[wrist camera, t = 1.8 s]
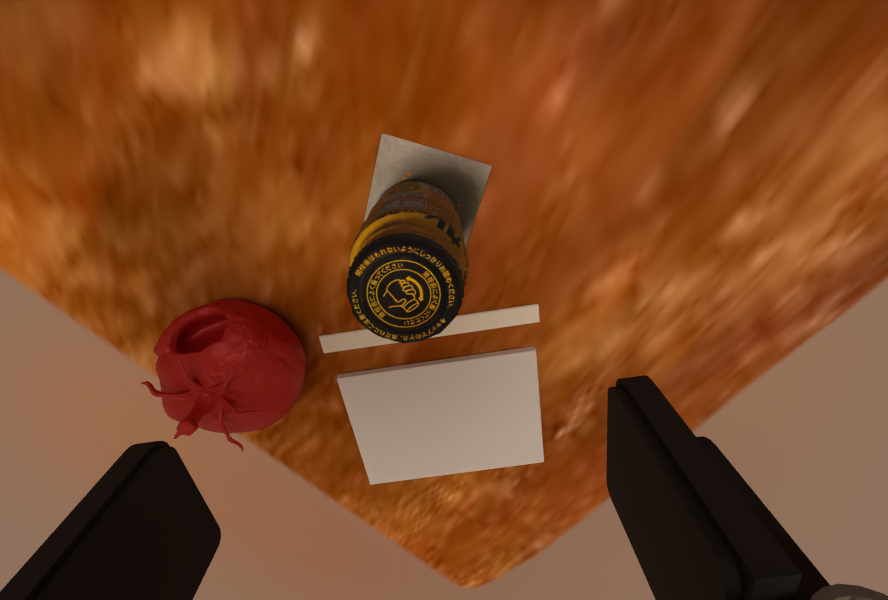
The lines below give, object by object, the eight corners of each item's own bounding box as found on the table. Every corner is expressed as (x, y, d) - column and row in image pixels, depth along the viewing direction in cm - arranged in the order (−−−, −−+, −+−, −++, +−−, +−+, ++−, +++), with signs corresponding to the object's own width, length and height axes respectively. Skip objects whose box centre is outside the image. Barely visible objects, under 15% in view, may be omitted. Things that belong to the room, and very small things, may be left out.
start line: (319, 335, 33) (318, 337, 33) (537, 303, 32) (538, 304, 32) (324, 351, 34) (324, 353, 33) (539, 320, 33) (539, 321, 33)
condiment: (357, 255, 30) (314, 342, 19) (382, 132, 27) (347, 155, 16) (454, 280, 31) (466, 375, 20) (491, 165, 28) (528, 206, 17)
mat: (338, 374, 34) (336, 378, 34) (534, 346, 34) (536, 350, 33) (371, 479, 40) (370, 484, 39) (542, 456, 39) (543, 462, 38)
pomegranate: (342, 342, 33) (311, 424, 25) (267, 414, 36) (216, 509, 28) (233, 258, 30) (156, 319, 22) (160, 344, 33) (67, 428, 25)
